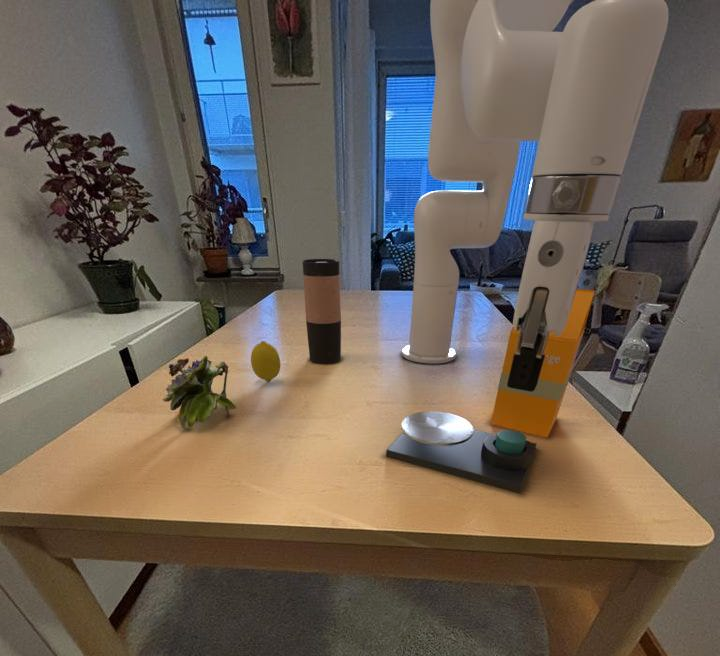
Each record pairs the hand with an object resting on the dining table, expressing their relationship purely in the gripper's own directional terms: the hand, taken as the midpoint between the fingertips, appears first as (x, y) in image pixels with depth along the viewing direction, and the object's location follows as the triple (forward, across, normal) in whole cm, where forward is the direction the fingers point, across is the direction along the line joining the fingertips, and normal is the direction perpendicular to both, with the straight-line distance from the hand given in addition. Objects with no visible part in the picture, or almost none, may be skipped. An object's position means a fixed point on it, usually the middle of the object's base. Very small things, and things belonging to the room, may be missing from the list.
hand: (521, 387), depth 48 cm
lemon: (+12, +9, +48) cm, 50 cm away
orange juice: (+11, +14, 0) cm, 18 cm away
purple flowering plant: (+11, -8, +47) cm, 49 cm away
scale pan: (+8, 0, +10) cm, 12 cm away
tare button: (+8, 0, 0) cm, 8 cm away
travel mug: (+12, +27, +46) cm, 54 cm away
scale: (+11, 0, +6) cm, 12 cm away
